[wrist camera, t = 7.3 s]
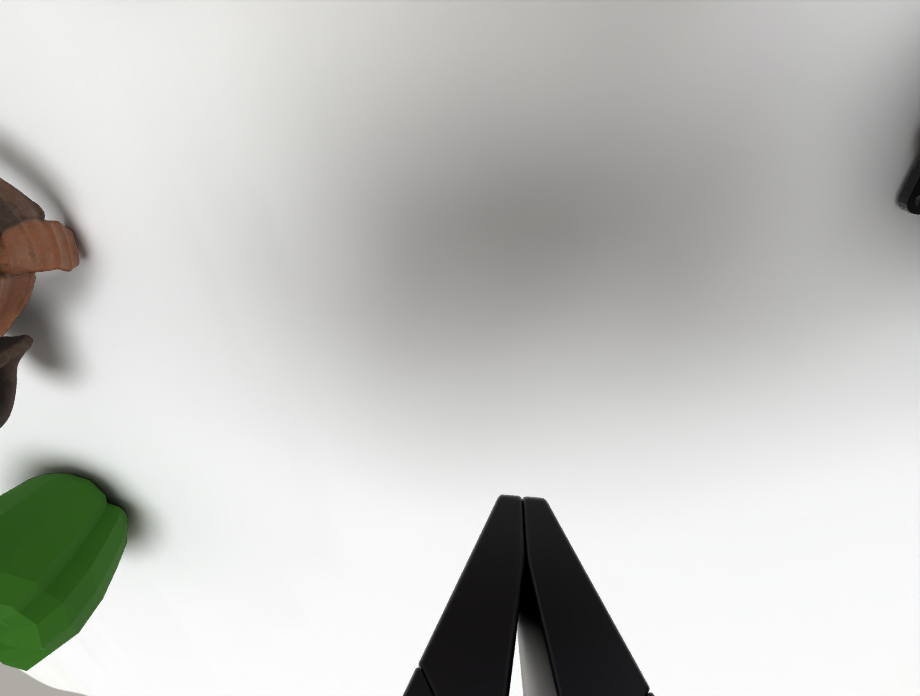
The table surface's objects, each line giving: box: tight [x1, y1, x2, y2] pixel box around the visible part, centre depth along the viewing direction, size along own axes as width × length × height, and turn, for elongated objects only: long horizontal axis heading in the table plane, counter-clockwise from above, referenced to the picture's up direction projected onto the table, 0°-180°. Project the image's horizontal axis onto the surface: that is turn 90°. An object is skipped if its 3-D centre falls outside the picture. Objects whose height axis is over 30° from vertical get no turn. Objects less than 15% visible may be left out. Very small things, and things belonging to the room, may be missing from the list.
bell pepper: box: [0, 474, 128, 671], centre depth 25 cm, size 8×8×10 cm
